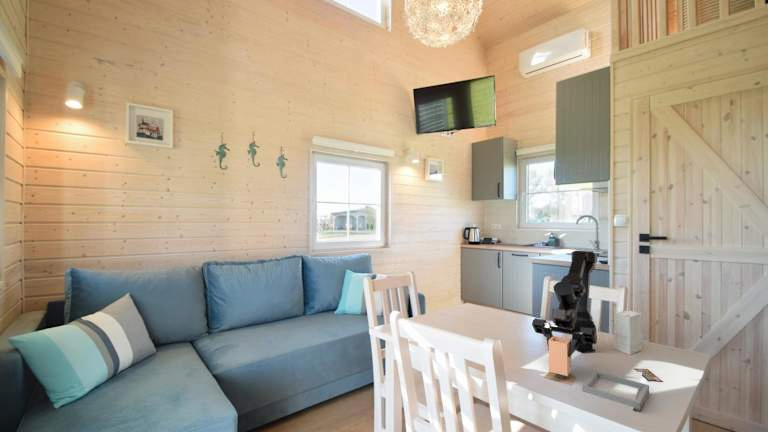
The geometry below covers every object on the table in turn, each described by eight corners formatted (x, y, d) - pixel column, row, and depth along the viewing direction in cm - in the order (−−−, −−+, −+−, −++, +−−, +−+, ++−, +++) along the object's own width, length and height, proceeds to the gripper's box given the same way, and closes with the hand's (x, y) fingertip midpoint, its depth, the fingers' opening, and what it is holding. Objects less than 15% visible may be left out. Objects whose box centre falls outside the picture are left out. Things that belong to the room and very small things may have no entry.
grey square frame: (582, 394, 105) (582, 386, 105) (595, 378, 115) (595, 370, 115) (639, 412, 95) (639, 403, 95) (649, 393, 105) (649, 385, 105)
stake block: (543, 380, 114) (543, 365, 114) (550, 372, 120) (550, 357, 120) (571, 388, 109) (570, 372, 109) (577, 379, 115) (576, 363, 115)
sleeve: (549, 371, 114) (548, 340, 114) (553, 365, 118) (553, 335, 118) (567, 376, 110) (566, 344, 110) (571, 370, 114) (571, 339, 114)
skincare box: (626, 346, 142) (626, 309, 142) (643, 351, 137) (642, 312, 137) (614, 350, 139) (613, 312, 139) (630, 355, 133) (629, 315, 133)
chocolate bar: (665, 384, 111) (665, 382, 111) (648, 383, 112) (648, 380, 112) (647, 369, 122) (647, 367, 122) (631, 368, 123) (631, 366, 123)
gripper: (533, 294, 123) (522, 335, 115) (594, 302, 111) (588, 348, 103) (540, 312, 129) (531, 352, 121) (599, 321, 117) (593, 366, 109)
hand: (558, 354), depth 113 cm, fingers closed on sleeve, 5 cm apart
